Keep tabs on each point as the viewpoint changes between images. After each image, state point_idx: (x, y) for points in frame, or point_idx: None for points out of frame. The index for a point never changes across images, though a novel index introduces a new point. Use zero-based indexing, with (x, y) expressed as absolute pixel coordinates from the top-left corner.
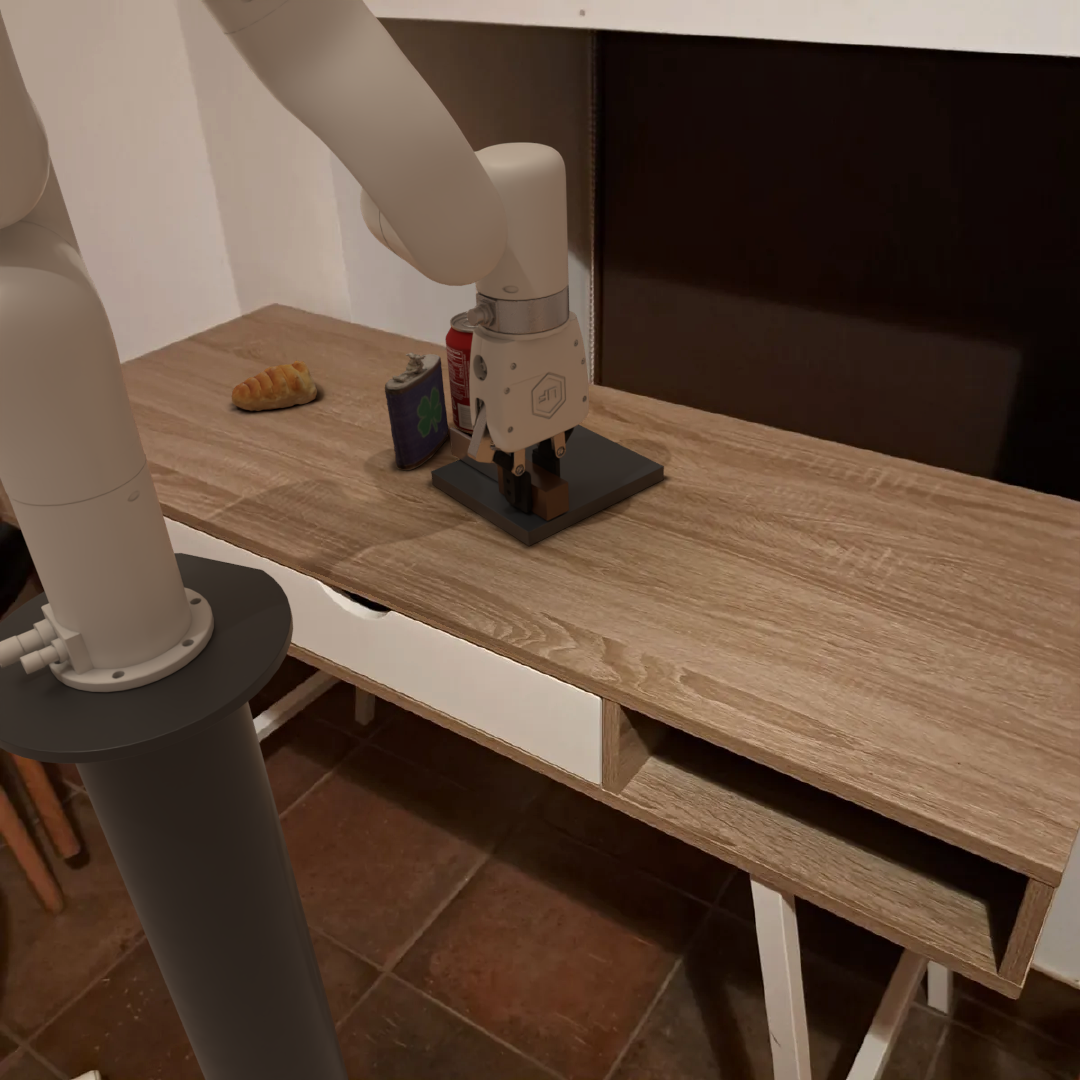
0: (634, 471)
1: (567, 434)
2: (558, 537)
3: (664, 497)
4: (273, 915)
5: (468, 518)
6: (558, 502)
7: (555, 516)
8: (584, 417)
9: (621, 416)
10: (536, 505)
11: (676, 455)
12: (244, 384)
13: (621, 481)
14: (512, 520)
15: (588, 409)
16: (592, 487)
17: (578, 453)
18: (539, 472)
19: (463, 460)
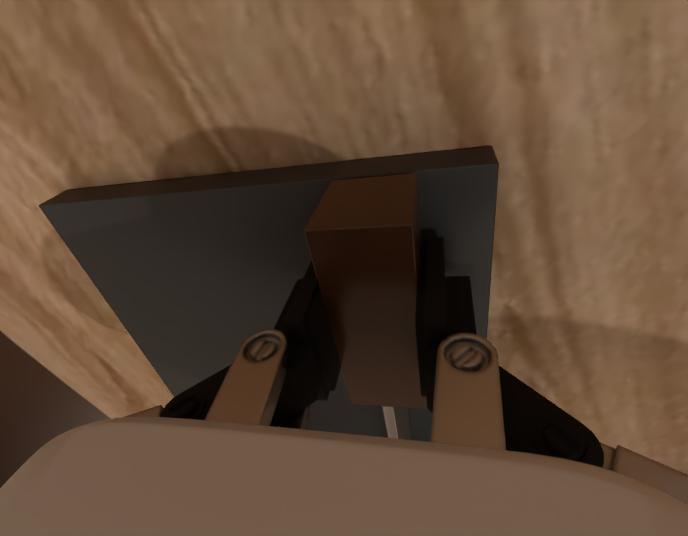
0: (110, 228)
1: (202, 393)
2: (396, 134)
3: (78, 126)
4: None
5: (509, 322)
6: (363, 197)
7: (383, 176)
8: (66, 439)
9: (106, 373)
10: (419, 233)
11: (30, 243)
12: None
13: (150, 213)
14: (487, 239)
15: (17, 471)
16: (225, 235)
17: (204, 342)
18: (354, 322)
19: (411, 439)
